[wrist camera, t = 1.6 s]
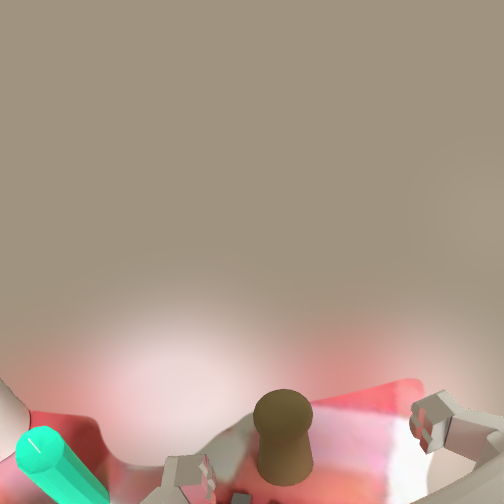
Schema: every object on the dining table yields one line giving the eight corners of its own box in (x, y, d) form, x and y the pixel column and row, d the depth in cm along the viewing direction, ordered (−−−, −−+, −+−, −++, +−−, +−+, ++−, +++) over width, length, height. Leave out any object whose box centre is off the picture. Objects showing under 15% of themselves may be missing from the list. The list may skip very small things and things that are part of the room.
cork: (260, 442, 32) (250, 379, 28) (313, 442, 31) (317, 378, 27) (254, 485, 26) (241, 430, 22) (313, 485, 25) (319, 430, 21)
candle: (71, 475, 26) (18, 412, 21) (113, 482, 26) (63, 420, 22) (60, 514, 20) (-4, 456, 16) (105, 524, 20) (43, 471, 16)
